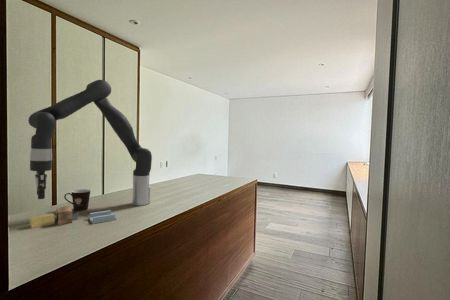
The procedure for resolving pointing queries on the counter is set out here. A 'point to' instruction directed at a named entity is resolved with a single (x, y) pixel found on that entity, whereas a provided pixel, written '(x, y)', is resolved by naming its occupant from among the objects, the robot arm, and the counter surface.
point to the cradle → (101, 217)
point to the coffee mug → (80, 199)
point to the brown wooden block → (64, 215)
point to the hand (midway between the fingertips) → (40, 196)
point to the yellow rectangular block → (42, 220)
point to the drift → (74, 217)
